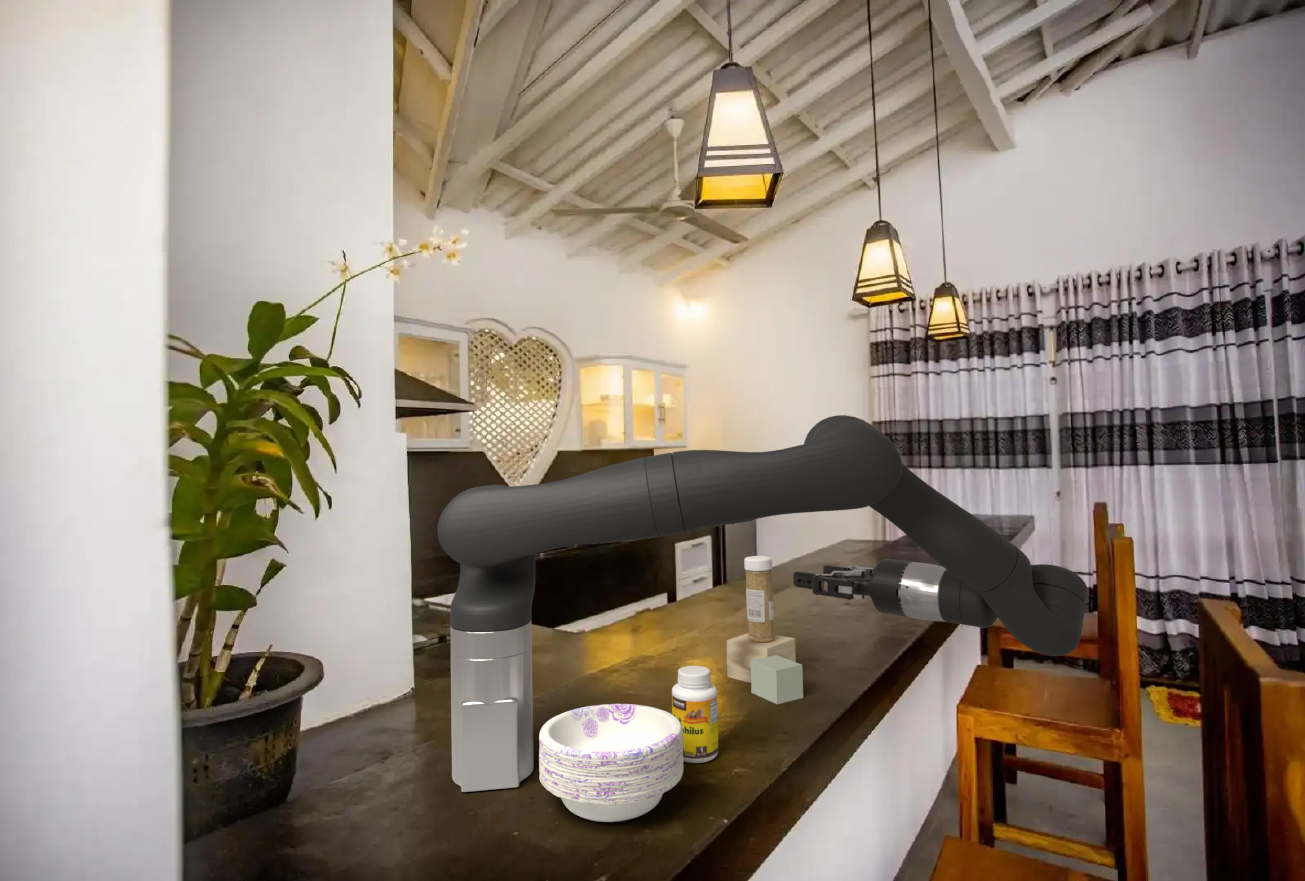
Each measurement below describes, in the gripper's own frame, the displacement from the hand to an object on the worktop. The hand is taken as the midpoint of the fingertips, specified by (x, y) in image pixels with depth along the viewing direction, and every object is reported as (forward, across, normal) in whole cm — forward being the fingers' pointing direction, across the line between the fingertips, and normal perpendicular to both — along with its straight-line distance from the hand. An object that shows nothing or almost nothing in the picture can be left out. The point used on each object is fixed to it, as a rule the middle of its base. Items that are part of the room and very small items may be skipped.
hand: (809, 575), depth 104 cm
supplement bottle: (-1, +28, +18) cm, 34 cm away
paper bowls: (-2, +42, +19) cm, 46 cm away
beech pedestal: (+10, -2, +18) cm, 21 cm away
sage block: (0, +5, +16) cm, 16 cm away
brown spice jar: (+10, -2, +12) cm, 16 cm away
